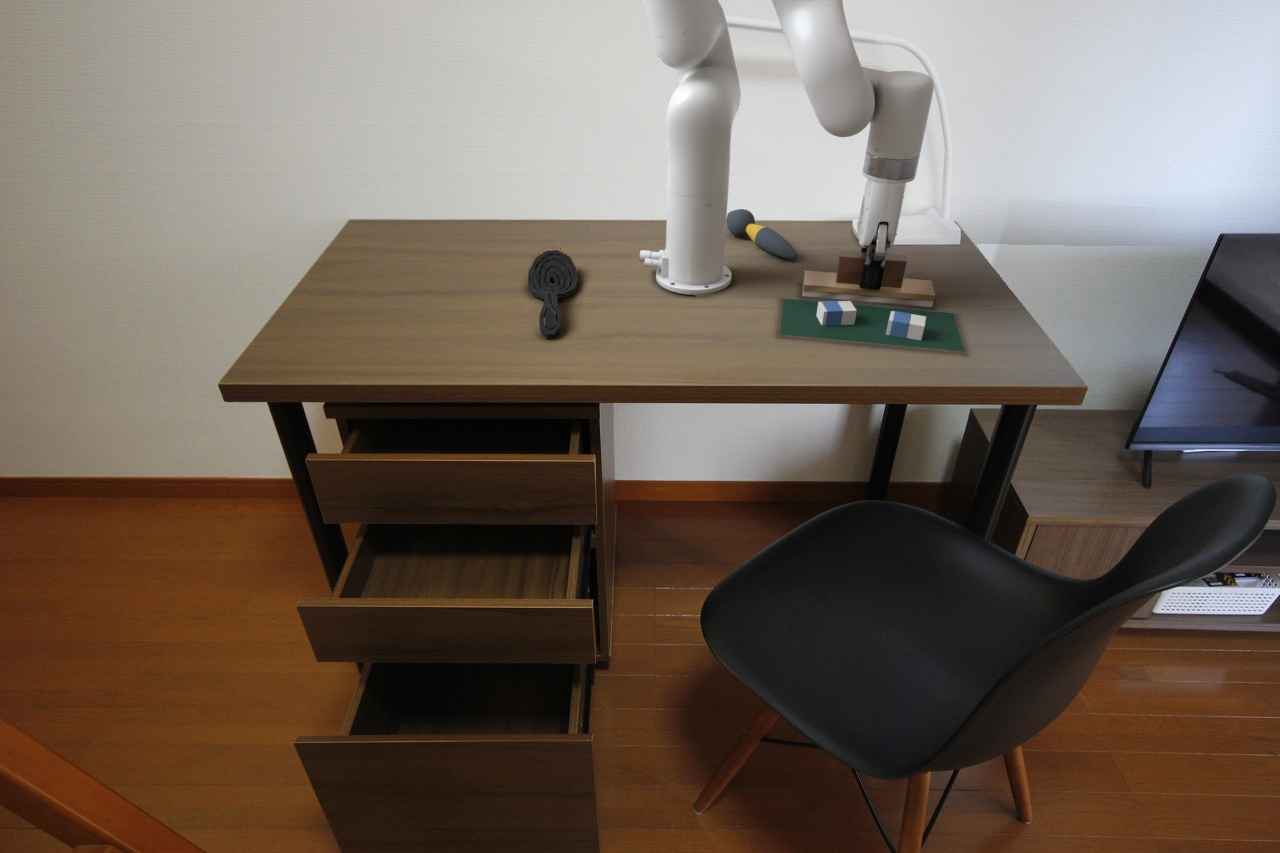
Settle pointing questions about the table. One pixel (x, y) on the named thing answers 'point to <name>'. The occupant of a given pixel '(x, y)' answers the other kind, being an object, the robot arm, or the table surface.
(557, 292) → the hairbrush
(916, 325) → the eraser right
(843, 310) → the eraser left
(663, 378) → the table surface
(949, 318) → the desk mat
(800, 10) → the robot arm
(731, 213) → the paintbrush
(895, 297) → the scrub brush
